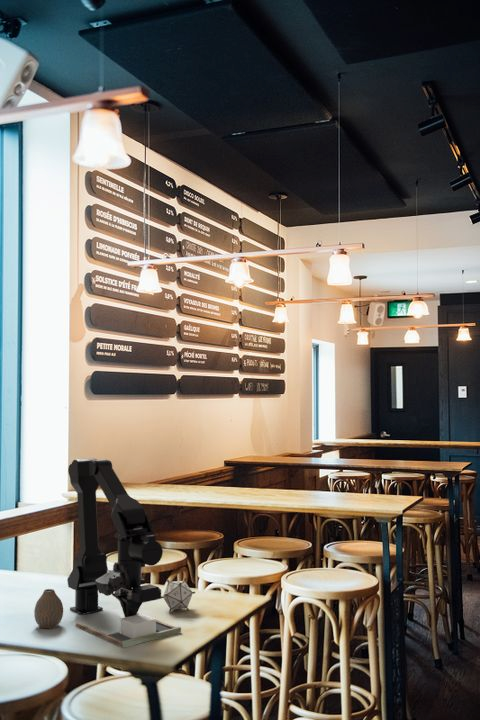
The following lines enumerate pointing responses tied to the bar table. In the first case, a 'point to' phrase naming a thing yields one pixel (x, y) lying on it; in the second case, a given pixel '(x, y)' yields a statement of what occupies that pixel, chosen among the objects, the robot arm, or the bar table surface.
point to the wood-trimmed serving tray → (136, 640)
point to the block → (137, 626)
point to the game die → (177, 595)
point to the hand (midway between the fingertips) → (129, 623)
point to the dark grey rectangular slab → (123, 638)
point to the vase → (48, 610)
